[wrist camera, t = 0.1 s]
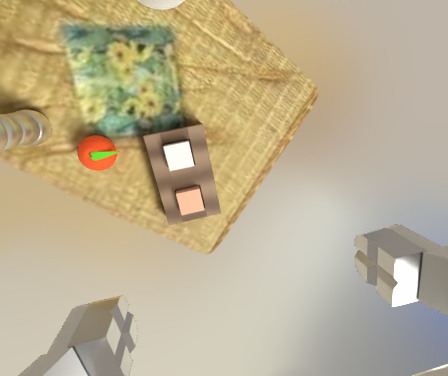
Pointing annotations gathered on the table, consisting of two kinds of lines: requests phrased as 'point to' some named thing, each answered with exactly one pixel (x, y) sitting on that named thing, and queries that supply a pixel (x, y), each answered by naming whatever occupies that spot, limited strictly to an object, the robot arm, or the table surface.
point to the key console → (183, 172)
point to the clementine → (97, 152)
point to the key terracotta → (189, 200)
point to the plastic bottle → (23, 129)
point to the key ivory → (178, 155)
